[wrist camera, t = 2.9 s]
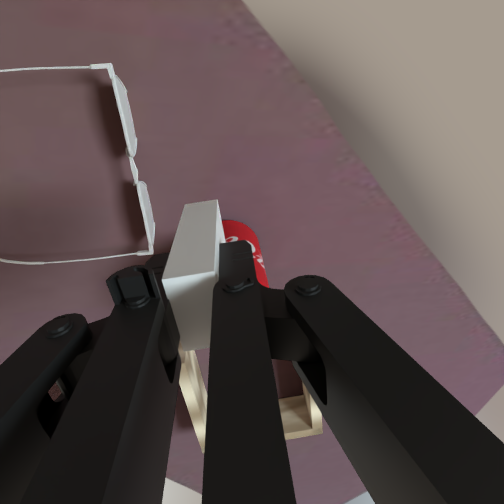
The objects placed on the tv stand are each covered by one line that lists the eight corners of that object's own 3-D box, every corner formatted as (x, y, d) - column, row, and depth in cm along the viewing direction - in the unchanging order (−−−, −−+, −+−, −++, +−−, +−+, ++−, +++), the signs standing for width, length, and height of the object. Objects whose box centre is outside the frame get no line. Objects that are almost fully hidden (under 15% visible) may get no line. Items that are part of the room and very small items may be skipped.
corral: (178, 332, 39) (172, 365, 34) (306, 311, 39) (317, 341, 34) (204, 417, 46) (203, 453, 41) (312, 399, 46) (322, 433, 41)
